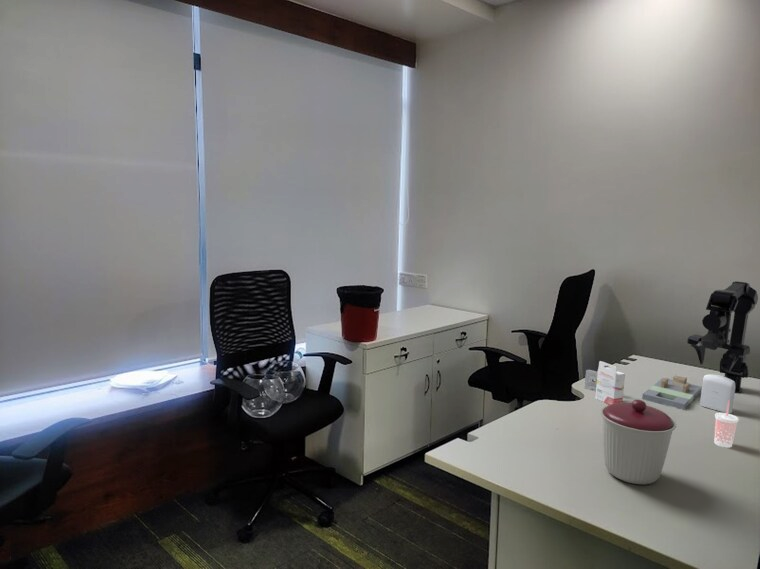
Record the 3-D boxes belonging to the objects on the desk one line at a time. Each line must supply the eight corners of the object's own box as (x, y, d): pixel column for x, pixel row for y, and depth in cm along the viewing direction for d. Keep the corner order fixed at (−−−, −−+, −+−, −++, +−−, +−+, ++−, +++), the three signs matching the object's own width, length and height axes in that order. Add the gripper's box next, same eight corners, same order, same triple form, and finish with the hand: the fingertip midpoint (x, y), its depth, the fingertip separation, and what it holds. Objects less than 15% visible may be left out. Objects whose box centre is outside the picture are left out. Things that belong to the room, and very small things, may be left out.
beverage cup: (738, 449, 160) (744, 405, 158) (716, 447, 161) (722, 403, 159) (729, 440, 166) (735, 398, 164) (708, 438, 167) (713, 396, 165)
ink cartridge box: (622, 404, 194) (627, 365, 191) (613, 406, 191) (617, 367, 189) (604, 396, 201) (607, 359, 199) (594, 398, 199) (598, 360, 197)
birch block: (675, 382, 214) (676, 374, 213) (686, 384, 211) (687, 377, 210) (672, 384, 211) (673, 377, 210) (683, 387, 208) (684, 379, 207)
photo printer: (697, 405, 194) (701, 373, 192) (702, 403, 197) (706, 371, 195) (729, 415, 187) (734, 381, 185) (733, 412, 189) (738, 378, 187)
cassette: (583, 388, 209) (585, 370, 208) (585, 387, 211) (587, 369, 209) (615, 396, 202) (617, 377, 200) (617, 395, 203) (619, 376, 202)
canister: (606, 452, 156) (613, 383, 153) (675, 473, 145) (685, 399, 142) (585, 476, 143) (593, 400, 139) (660, 501, 131) (670, 420, 128)
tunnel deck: (662, 382, 219) (663, 371, 218) (701, 391, 209) (702, 380, 209) (642, 398, 200) (643, 387, 199) (683, 409, 190) (685, 397, 190)
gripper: (682, 323, 194) (677, 364, 197) (739, 335, 179) (733, 379, 182) (697, 319, 201) (692, 359, 203) (753, 330, 186) (747, 373, 188)
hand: (714, 367), depth 194 cm, fingers open, 9 cm apart
